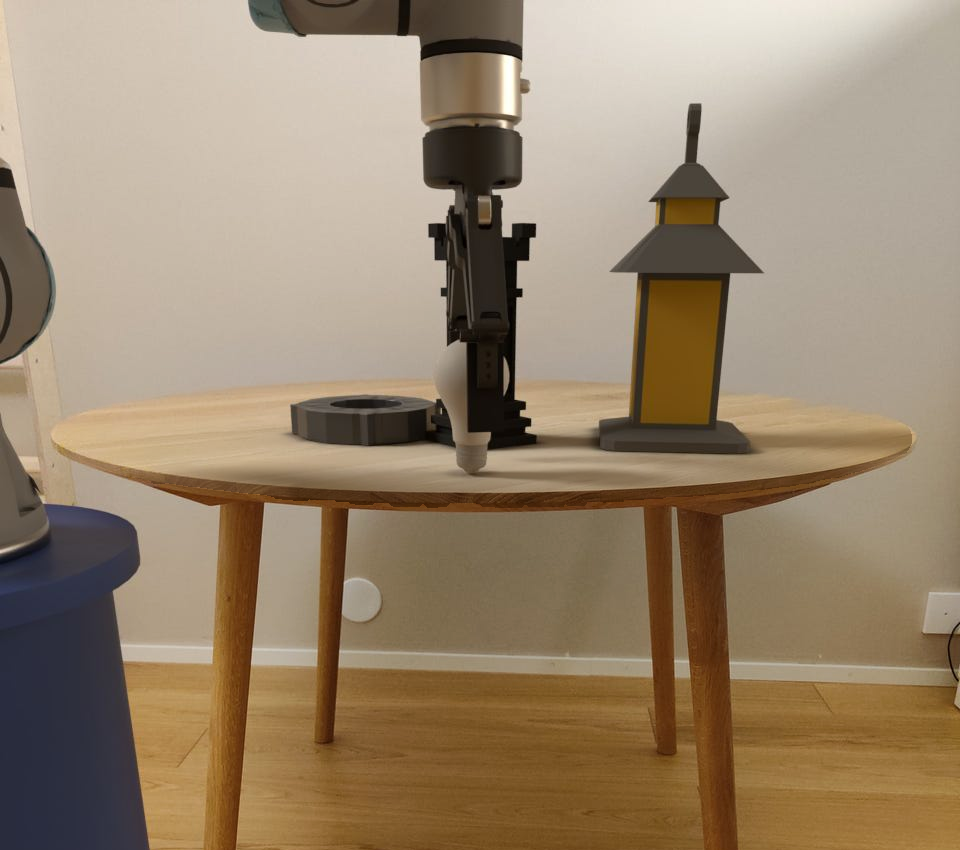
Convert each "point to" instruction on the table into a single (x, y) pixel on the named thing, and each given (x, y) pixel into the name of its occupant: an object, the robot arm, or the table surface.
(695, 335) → the lantern
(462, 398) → the lightbulb
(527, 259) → the chess piece
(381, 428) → the hole plate
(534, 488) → the table surface
